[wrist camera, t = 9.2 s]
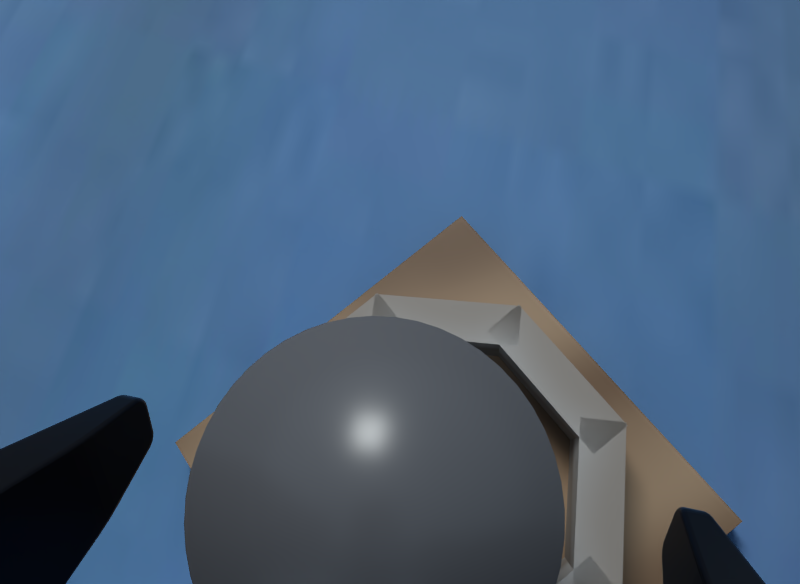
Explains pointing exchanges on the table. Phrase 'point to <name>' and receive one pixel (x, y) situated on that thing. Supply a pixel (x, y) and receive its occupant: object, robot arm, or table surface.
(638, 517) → the walnut mount board
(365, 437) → the grey dome-topped cylinder
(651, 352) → the table surface
